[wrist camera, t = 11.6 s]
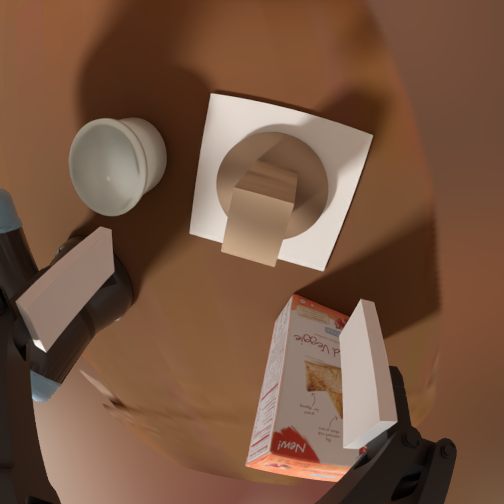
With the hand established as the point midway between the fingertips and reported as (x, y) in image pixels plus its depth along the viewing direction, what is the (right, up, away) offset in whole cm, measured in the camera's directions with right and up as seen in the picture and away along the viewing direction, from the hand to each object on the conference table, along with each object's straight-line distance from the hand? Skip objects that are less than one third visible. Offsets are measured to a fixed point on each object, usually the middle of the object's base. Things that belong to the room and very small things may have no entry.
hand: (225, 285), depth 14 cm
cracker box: (+12, -8, +22) cm, 27 cm away
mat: (+3, +8, +14) cm, 17 cm away
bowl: (-12, +13, +15) cm, 23 cm away
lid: (+3, +8, +14) cm, 17 cm away
